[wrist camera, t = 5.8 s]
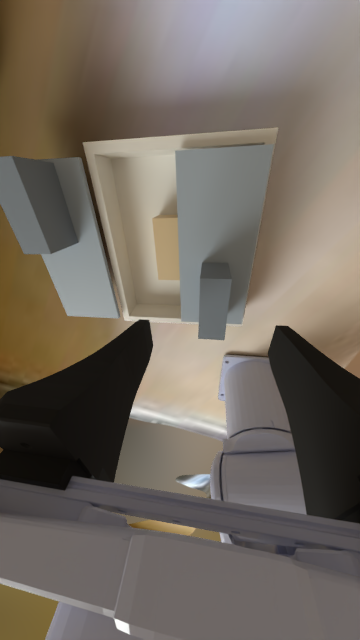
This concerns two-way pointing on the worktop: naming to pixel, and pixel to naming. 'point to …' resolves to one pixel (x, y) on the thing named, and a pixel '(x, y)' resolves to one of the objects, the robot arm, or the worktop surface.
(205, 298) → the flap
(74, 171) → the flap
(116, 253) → the carton
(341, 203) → the worktop surface
